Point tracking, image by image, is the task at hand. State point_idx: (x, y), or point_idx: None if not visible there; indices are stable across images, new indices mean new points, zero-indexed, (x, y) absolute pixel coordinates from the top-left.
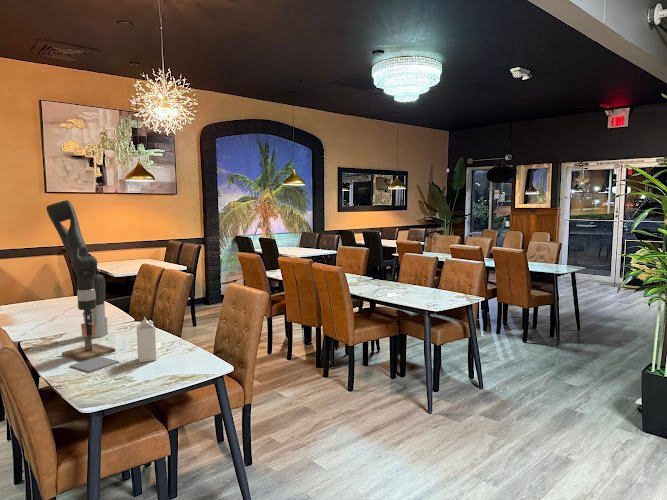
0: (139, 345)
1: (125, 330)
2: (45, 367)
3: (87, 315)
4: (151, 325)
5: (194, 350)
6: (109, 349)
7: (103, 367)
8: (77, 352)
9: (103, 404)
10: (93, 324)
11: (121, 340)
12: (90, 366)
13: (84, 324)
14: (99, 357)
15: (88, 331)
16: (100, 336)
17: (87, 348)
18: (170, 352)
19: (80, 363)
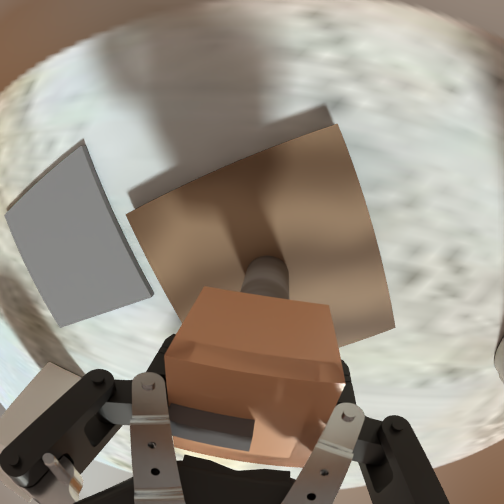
0: (18, 398)
1: (480, 420)
2: (148, 36)
3: (13, 480)
4: None
5: (116, 463)
6: None
7: (29, 266)
8: (265, 208)
9: None
10: (199, 446)
11: (381, 413)
12: (37, 227)
13: (268, 404)
14: (133, 290)
15: (158, 360)
16: (496, 354)
17: (246, 273)
18: (118, 441)
19: (84, 195)
